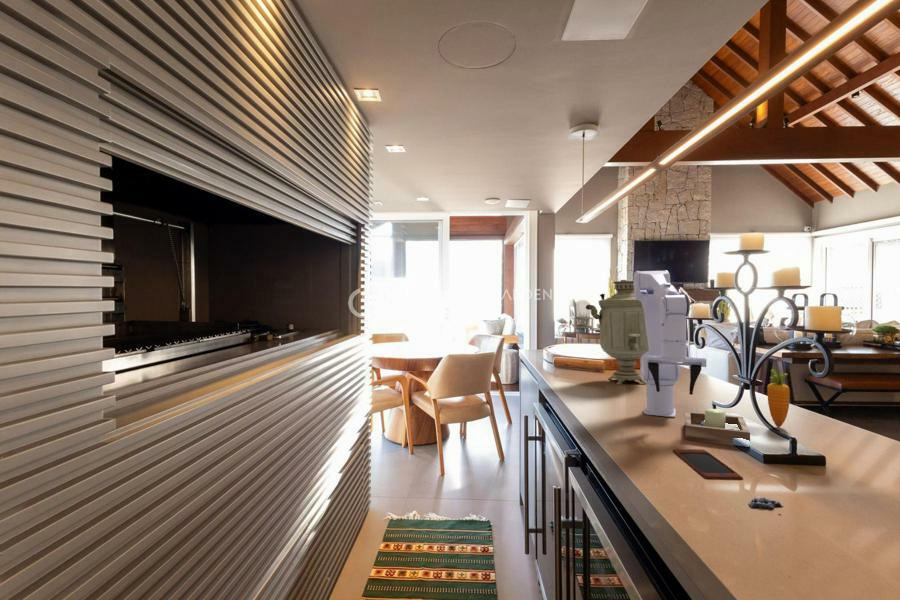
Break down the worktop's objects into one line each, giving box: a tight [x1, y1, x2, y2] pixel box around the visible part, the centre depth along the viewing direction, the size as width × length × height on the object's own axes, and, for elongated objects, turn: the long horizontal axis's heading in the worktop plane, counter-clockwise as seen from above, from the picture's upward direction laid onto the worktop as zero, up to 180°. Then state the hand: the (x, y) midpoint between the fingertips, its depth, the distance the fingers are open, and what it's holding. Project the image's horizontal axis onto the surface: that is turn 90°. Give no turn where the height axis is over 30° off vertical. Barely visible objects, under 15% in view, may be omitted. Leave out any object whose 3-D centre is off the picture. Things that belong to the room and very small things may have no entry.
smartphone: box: [672, 448, 744, 481], centre depth 91 cm, size 7×1×15 cm
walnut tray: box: [684, 410, 751, 447], centre depth 109 cm, size 14×13×4 cm
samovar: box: [585, 280, 649, 386], centre depth 172 cm, size 30×26×40 cm
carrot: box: [766, 368, 791, 428], centre depth 115 cm, size 5×5×15 cm
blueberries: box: [747, 496, 784, 515], centre depth 73 cm, size 7×8×2 cm
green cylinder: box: [704, 408, 726, 428], centre depth 109 cm, size 4×4×5 cm
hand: (674, 392), depth 115 cm, fingers open, 7 cm apart
